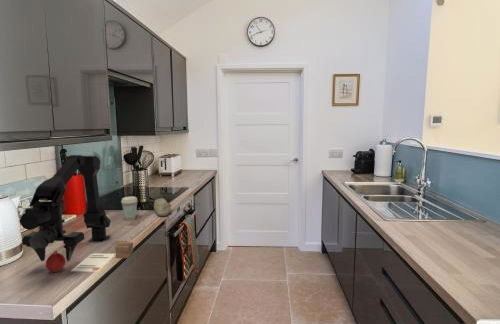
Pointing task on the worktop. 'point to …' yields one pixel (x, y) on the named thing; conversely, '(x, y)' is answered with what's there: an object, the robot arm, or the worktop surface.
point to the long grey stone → (162, 207)
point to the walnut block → (124, 249)
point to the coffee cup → (129, 207)
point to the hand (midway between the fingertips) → (55, 260)
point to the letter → (93, 262)
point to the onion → (55, 262)
